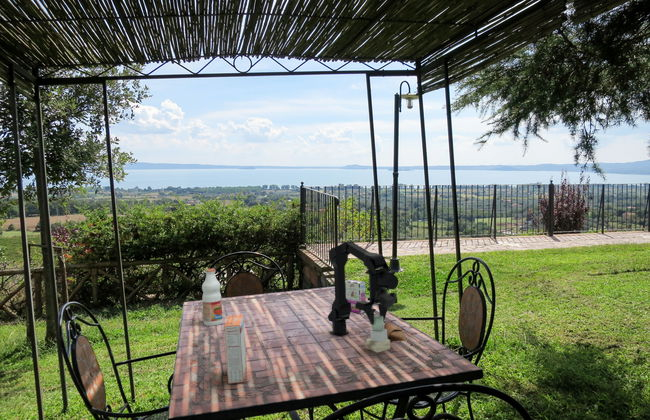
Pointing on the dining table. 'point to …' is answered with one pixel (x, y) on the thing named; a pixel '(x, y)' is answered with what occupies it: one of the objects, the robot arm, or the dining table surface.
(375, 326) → the mint green cylinder
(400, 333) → the sunglasses case
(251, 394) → the dining table surface
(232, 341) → the cracker box
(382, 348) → the birch base block
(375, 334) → the grey top block
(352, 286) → the candy bar box
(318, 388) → the dining table surface
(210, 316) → the fruit juice
